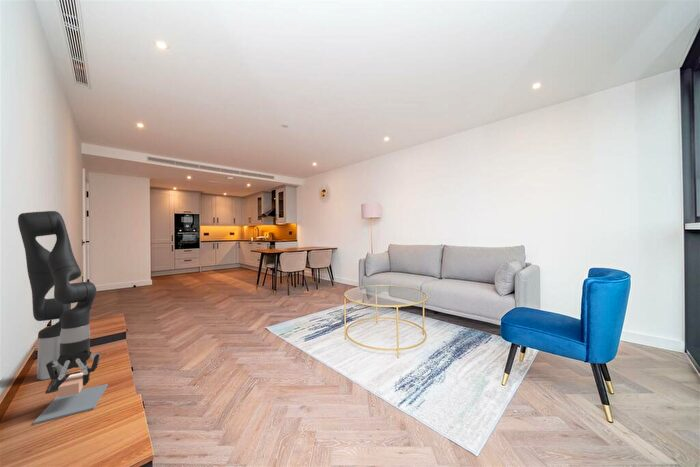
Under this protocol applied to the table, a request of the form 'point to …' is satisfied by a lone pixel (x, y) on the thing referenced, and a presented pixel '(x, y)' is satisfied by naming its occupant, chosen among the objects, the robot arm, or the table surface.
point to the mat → (72, 404)
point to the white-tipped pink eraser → (71, 385)
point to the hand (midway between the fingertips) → (74, 386)
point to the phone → (54, 383)
